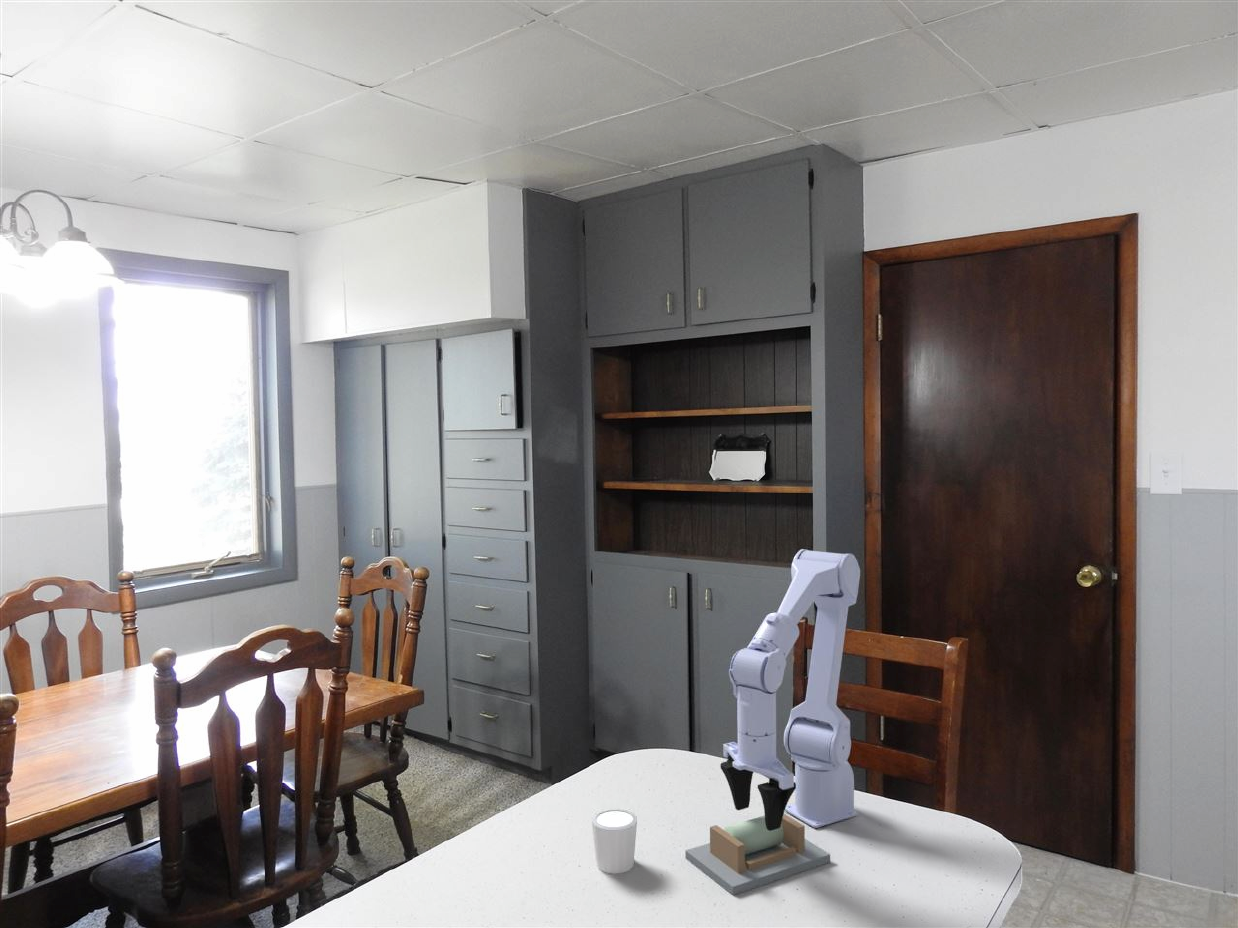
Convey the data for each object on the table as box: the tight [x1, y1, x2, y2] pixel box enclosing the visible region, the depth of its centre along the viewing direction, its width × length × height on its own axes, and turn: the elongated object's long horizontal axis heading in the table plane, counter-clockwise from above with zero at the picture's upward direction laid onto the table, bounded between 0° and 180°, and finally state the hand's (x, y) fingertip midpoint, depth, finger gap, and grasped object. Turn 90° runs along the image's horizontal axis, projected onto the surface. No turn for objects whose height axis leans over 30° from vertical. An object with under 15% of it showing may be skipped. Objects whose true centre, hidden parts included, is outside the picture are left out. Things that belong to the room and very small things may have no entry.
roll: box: [723, 815, 784, 855], centre depth 134 cm, size 8×4×4 cm, turn 119°
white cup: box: [591, 808, 638, 874], centre depth 133 cm, size 7×7×7 cm
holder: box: [684, 813, 831, 896], centre depth 133 cm, size 18×12×5 cm, turn 119°
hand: (757, 817), depth 133 cm, fingers open, 7 cm apart
